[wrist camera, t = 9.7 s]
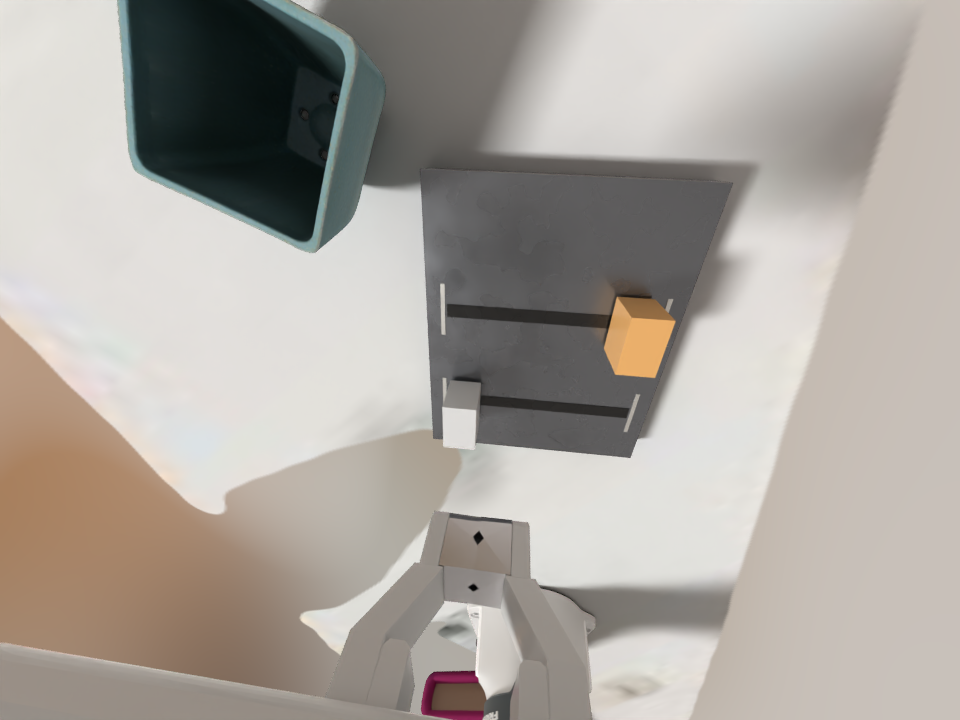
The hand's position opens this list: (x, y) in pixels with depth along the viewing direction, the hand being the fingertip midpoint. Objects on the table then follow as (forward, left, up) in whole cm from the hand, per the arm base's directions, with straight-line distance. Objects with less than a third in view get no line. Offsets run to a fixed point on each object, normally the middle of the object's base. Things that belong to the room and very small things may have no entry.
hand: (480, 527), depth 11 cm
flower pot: (+11, +12, -19) cm, 25 cm away
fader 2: (0, -9, -16) cm, 18 cm away
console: (-2, -3, -19) cm, 19 cm away
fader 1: (-8, +3, -16) cm, 18 cm away
